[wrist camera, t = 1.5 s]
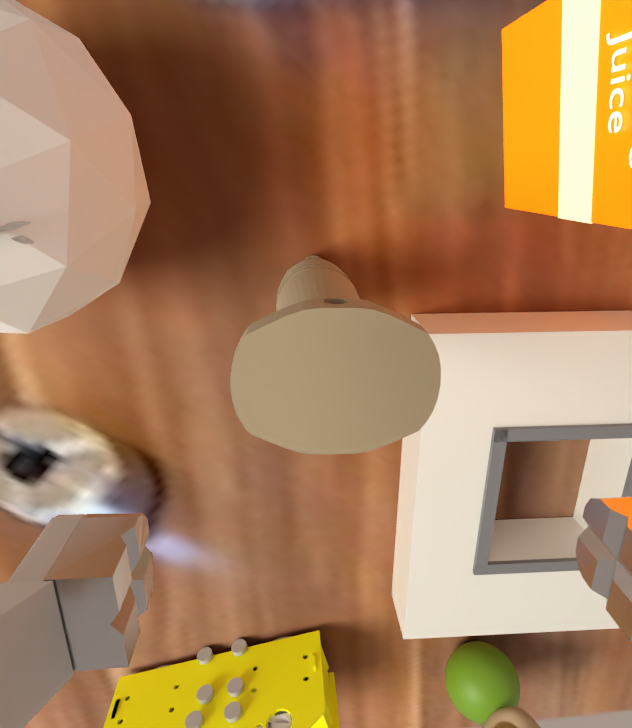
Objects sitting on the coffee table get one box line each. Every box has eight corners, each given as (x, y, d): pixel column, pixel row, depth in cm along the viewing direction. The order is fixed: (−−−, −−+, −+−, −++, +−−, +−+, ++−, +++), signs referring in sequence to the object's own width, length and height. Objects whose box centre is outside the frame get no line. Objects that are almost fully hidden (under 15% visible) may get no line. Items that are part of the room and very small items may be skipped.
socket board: (411, 313, 30) (430, 335, 26) (697, 309, 31) (757, 329, 27) (391, 593, 38) (404, 642, 34) (619, 582, 39) (658, 630, 35)
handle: (364, 321, 30) (433, 451, 16) (257, 322, 30) (234, 456, 16) (368, 240, 29) (448, 307, 15) (255, 239, 28) (225, 308, 14)
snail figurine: (522, 629, 40) (613, 804, 29) (478, 680, 42) (547, 864, 31) (467, 608, 39) (539, 782, 28) (424, 662, 41) (476, 846, 30)
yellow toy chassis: (317, 616, 39) (325, 728, 31) (334, 666, 41) (345, 783, 33) (120, 663, 39) (80, 784, 32) (147, 710, 42) (115, 834, 34)
